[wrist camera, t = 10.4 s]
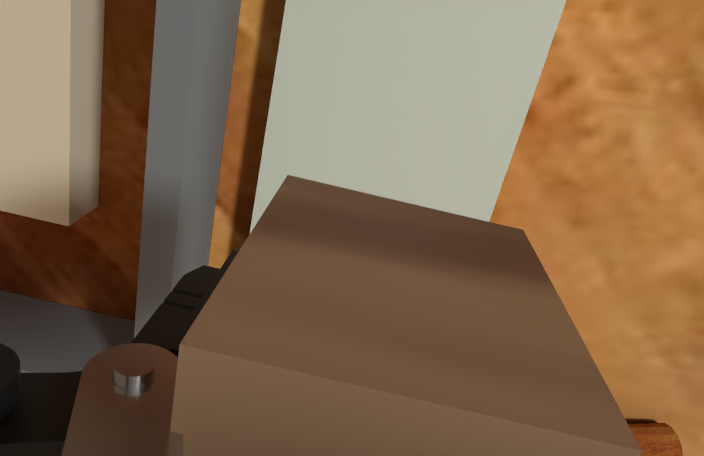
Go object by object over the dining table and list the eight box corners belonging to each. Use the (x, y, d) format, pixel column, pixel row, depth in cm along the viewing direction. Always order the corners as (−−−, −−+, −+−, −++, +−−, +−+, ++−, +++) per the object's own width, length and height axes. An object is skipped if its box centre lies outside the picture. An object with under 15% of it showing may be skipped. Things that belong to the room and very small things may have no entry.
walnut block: (287, 174, 11) (178, 343, 6) (523, 229, 11) (641, 451, 6) (253, 367, 13) (148, 631, 8) (453, 413, 13) (493, 709, 8)
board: (319, -175, 23) (314, -186, 22) (594, -109, 23) (606, -115, 22) (243, 301, 33) (236, 314, 31) (438, 346, 33) (440, 361, 31)
